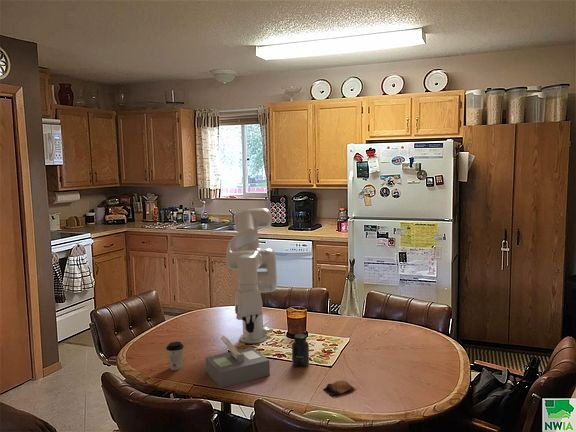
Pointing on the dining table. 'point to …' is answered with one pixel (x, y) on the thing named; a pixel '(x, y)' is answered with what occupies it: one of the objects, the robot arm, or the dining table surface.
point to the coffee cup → (175, 355)
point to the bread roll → (339, 388)
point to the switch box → (237, 367)
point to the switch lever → (230, 346)
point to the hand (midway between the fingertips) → (250, 331)
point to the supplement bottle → (300, 351)
